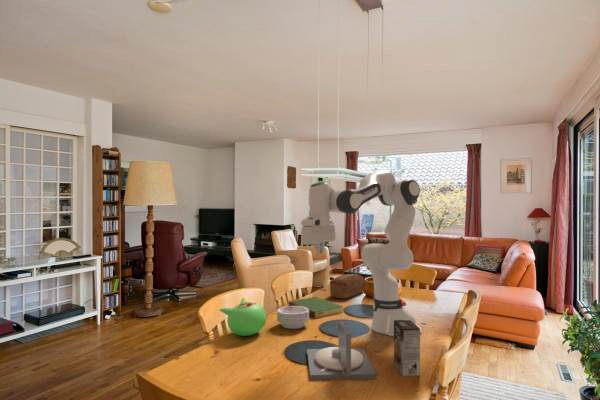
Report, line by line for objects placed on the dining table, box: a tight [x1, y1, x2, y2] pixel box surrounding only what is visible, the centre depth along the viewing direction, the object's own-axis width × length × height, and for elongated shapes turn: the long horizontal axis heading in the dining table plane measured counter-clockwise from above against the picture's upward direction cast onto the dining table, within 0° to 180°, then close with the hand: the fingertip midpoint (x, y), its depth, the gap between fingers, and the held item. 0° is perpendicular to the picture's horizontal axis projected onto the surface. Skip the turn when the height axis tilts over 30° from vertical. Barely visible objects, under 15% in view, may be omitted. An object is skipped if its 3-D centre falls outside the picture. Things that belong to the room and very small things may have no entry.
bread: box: [329, 273, 366, 300], centre depth 239 cm, size 14×28×12 cm, turn 144°
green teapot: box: [219, 297, 267, 337], centre depth 167 cm, size 18×17×15 cm
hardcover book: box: [288, 296, 343, 319], centre depth 205 cm, size 25×19×4 cm
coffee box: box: [393, 320, 421, 377], centre depth 131 cm, size 9×6×16 cm
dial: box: [315, 320, 363, 376], centre depth 132 cm, size 24×17×15 cm
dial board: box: [306, 347, 377, 381], centre depth 135 cm, size 22×22×2 cm
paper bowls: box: [276, 305, 310, 330], centre depth 178 cm, size 15×15×8 cm
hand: (319, 253), depth 159 cm, fingers closed
